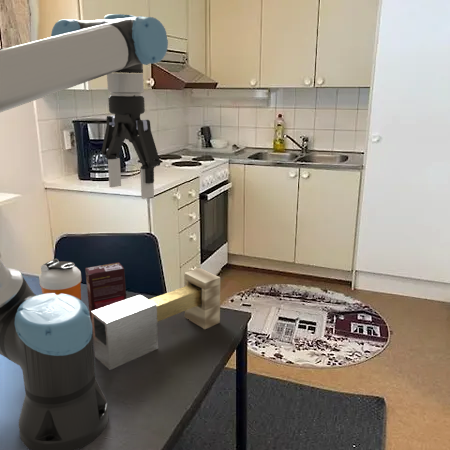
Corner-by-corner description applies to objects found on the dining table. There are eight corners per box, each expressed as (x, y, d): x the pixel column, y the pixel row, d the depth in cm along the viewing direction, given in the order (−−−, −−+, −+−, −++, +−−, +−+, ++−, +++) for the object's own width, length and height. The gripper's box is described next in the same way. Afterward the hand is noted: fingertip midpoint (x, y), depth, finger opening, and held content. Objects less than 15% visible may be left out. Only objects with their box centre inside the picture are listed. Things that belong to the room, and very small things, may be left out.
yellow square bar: (139, 329, 104) (138, 313, 103) (129, 322, 107) (128, 306, 105) (207, 301, 117) (207, 287, 116) (197, 296, 120) (196, 282, 118)
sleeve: (110, 370, 99) (106, 323, 96) (94, 356, 104) (91, 311, 100) (158, 348, 107) (156, 304, 104) (142, 337, 112) (140, 294, 108)
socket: (204, 329, 116) (204, 283, 112) (184, 317, 121) (184, 272, 117) (219, 322, 119) (220, 277, 115) (199, 311, 124) (199, 267, 121)
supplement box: (123, 318, 120) (120, 261, 115) (128, 327, 116) (125, 268, 111) (89, 325, 116) (84, 267, 112) (93, 335, 112) (88, 274, 108)
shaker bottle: (74, 355, 104) (67, 273, 98) (38, 350, 106) (28, 269, 100) (93, 334, 112) (87, 257, 106) (59, 330, 114) (51, 254, 108)
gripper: (176, 96, 93) (177, 199, 99) (112, 92, 110) (117, 180, 117) (144, 97, 88) (148, 205, 94) (82, 92, 105) (89, 184, 112)
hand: (130, 191), depth 105 cm, fingers open, 13 cm apart
